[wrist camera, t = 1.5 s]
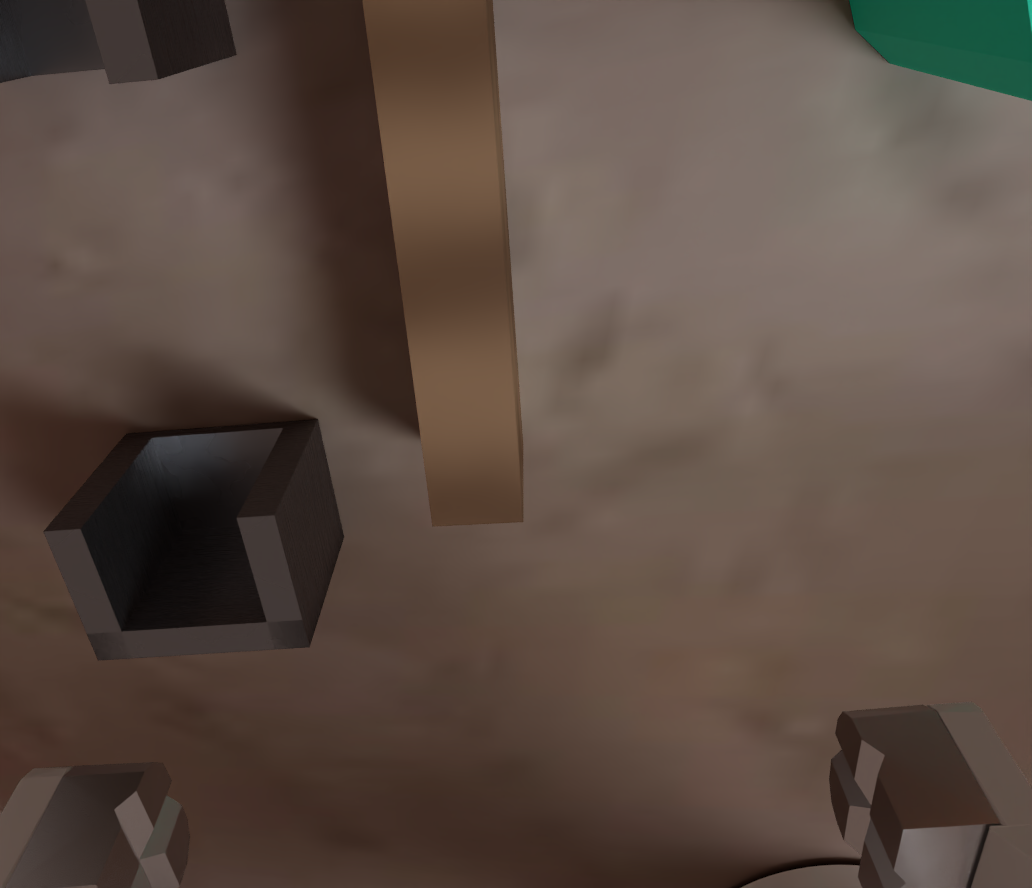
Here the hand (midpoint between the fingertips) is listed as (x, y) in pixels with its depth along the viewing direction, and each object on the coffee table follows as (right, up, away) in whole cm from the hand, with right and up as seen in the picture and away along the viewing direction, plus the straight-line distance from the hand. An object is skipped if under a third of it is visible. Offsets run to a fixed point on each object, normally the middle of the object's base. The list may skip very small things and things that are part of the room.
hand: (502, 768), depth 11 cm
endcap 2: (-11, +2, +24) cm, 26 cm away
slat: (-2, +11, +19) cm, 22 cm away
